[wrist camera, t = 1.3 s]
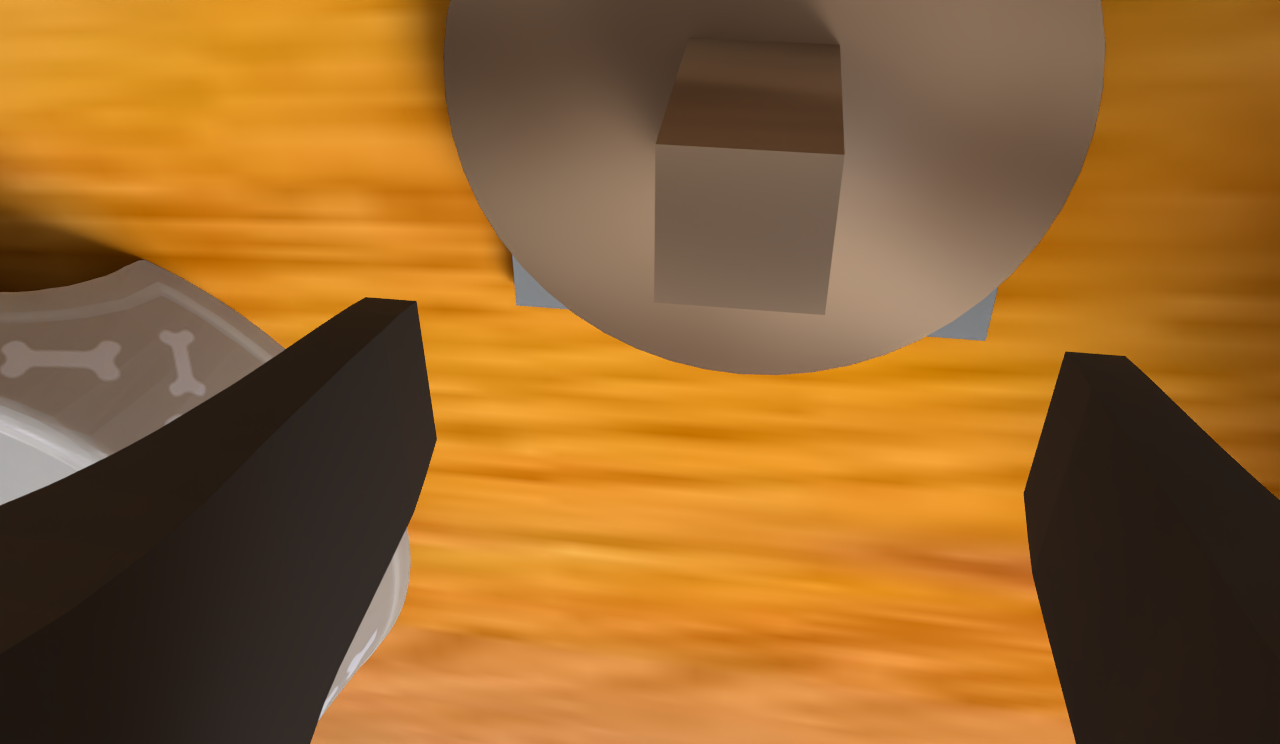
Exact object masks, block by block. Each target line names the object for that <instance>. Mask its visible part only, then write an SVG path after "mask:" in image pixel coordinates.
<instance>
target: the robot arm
mask: <svg viewBox="0 0 1280 744" xmlns="http://www.w3.org/2000/svg"><path fill="white" fill-rule="evenodd" d="M436 440H437V437H436V430H435V424H434V417H433V410H432V403H431V397H430V390H429V383H428V376H427V370H426V363H425V356H424V349H423V342H422V336H421V329H420V322H419V315H418V309H417V302H416V301H407V300H394V299H381V298H368V297H365V298H364V299H362V300H360V301H358V302H357V303H355V304H353V305H352V306H350V307H348V308H347V309H345V310H344V311H342V312H340V313H339V314H337V315H336V316H334V317H333V318H331V319H330V320H328V321H327V322H325V323H324V324H322V325H321V326H319V327H318V328H316V329H315V330H313V331H312V332H310V333H309V334H307V335H306V336H305V337H303V338H302V339H300V340H299V341H297V342H296V343H294V344H293V345H291V346H290V347H288V348H287V349H285V350H284V351H282V352H281V353H279V354H278V355H276V356H275V357H273V358H272V359H270V360H269V361H267V362H266V363H264V364H263V365H261V366H260V367H258V368H257V369H255V370H254V371H252V372H251V373H249V374H248V375H246V376H245V377H243V378H242V379H240V380H239V381H237V382H236V383H234V384H232V385H231V386H229V387H228V388H226V389H224V390H223V391H221V392H219V393H218V394H216V395H214V396H213V397H211V398H209V399H208V400H206V401H204V402H203V403H201V404H199V405H198V406H196V407H195V408H193V409H191V410H190V411H188V412H186V413H185V414H183V415H181V416H180V417H178V418H176V419H175V420H173V421H171V422H170V423H168V424H166V425H165V426H163V427H161V428H160V429H158V430H156V431H155V432H153V433H151V434H149V435H147V436H145V437H144V438H142V439H140V440H138V441H136V442H135V443H133V444H131V445H129V446H127V447H125V448H123V449H121V450H119V451H118V452H116V453H114V454H112V455H110V456H108V457H106V458H104V459H102V460H100V461H98V462H96V463H94V464H92V465H89V466H87V467H85V468H83V469H81V470H79V471H77V472H75V473H73V474H71V475H69V476H67V477H65V478H63V479H61V480H59V481H56V482H54V483H52V484H50V485H48V486H45V487H43V488H41V489H38V490H36V491H33V492H31V493H29V494H26V495H24V496H21V497H19V498H17V499H14V500H12V501H9V502H7V503H5V504H2V505H0V744H310V742H311V739H312V737H313V734H314V731H315V728H316V725H317V723H318V720H319V717H320V714H321V711H322V708H323V706H324V703H325V701H326V698H327V696H328V694H329V691H330V689H331V687H332V684H333V682H334V680H335V677H336V675H337V673H338V670H339V668H340V666H341V664H342V662H343V660H344V658H345V655H346V653H347V651H348V649H349V647H350V645H351V643H352V641H353V639H354V637H355V635H356V633H357V631H358V629H359V626H360V624H361V622H362V620H363V618H364V616H365V614H366V612H367V610H368V608H369V606H370V604H371V602H372V600H373V597H374V595H375V593H376V591H377V589H378V587H379V585H380V583H381V581H382V579H383V577H384V575H385V573H386V571H387V568H388V566H389V564H390V562H391V560H392V558H393V556H394V554H395V552H396V549H397V547H398V545H399V543H400V541H401V539H402V537H403V535H404V532H405V530H406V528H407V526H408V524H409V522H410V519H411V517H412V515H413V513H414V510H415V507H416V504H417V501H418V498H419V495H420V492H421V489H422V486H423V483H424V480H425V477H426V474H427V470H428V467H429V464H430V460H431V457H432V453H433V450H434V447H435V443H436ZM1024 502H1025V512H1026V522H1027V532H1028V542H1029V550H1030V558H1031V566H1032V574H1033V578H1034V582H1035V586H1036V590H1037V595H1038V599H1039V602H1040V606H1041V610H1042V614H1043V618H1044V622H1045V626H1046V630H1047V634H1048V638H1049V642H1050V646H1051V649H1052V653H1053V657H1054V661H1055V665H1056V668H1057V672H1058V676H1059V680H1060V684H1061V688H1062V691H1063V695H1064V699H1065V703H1066V707H1067V710H1068V714H1069V718H1070V722H1071V726H1072V730H1073V733H1074V737H1075V741H1076V744H1280V500H1279V499H1278V498H1276V497H1275V496H1274V495H1273V494H1272V493H1271V492H1270V491H1268V490H1267V489H1266V488H1265V487H1264V486H1263V485H1262V484H1261V483H1259V482H1258V481H1257V480H1256V479H1255V478H1254V477H1253V476H1252V475H1251V474H1249V473H1248V472H1247V471H1246V470H1245V469H1244V468H1243V467H1242V466H1241V465H1240V464H1239V463H1237V462H1236V461H1235V460H1234V459H1233V458H1232V457H1231V456H1230V455H1229V454H1228V453H1227V452H1226V451H1225V450H1223V449H1222V448H1221V447H1220V446H1219V445H1218V444H1217V443H1216V442H1215V441H1214V440H1213V439H1212V438H1211V437H1210V436H1209V435H1208V434H1207V433H1206V432H1205V431H1203V430H1202V429H1201V428H1200V427H1199V426H1198V425H1197V424H1196V423H1195V422H1194V421H1193V420H1192V419H1191V418H1190V417H1189V416H1188V415H1187V414H1186V413H1185V412H1184V411H1183V410H1182V409H1181V408H1180V407H1179V406H1178V405H1177V404H1176V403H1175V402H1174V401H1172V400H1171V399H1170V398H1169V397H1168V396H1167V395H1166V394H1165V393H1164V392H1163V391H1162V390H1161V389H1160V388H1159V387H1158V386H1157V385H1156V384H1155V383H1154V382H1153V381H1152V380H1151V379H1150V378H1149V377H1148V376H1146V375H1145V374H1144V373H1143V372H1142V371H1141V370H1140V369H1139V368H1138V367H1137V366H1136V365H1134V364H1133V363H1132V362H1131V361H1130V360H1129V359H1128V358H1126V357H1125V356H1115V355H1102V354H1089V353H1076V352H1065V355H1064V358H1063V362H1062V365H1061V368H1060V372H1059V375H1058V379H1057V382H1056V385H1055V389H1054V392H1053V396H1052V399H1051V402H1050V406H1049V409H1048V413H1047V416H1046V419H1045V423H1044V426H1043V430H1042V433H1041V436H1040V440H1039V443H1038V447H1037V450H1036V453H1035V457H1034V460H1033V464H1032V467H1031V470H1030V474H1029V477H1028V481H1027V484H1026V487H1025V491H1024Z"/></svg>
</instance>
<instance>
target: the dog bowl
mask: <svg viewBox="0 0 1280 744" xmlns="http://www.w3.org/2000/svg"><path fill="white" fill-rule="evenodd" d="M284 350H285V348H283V347H282V346H281V345H280V344H278V343H277V342H276V341H275V340H274V339H272V338H271V337H270V336H269V335H267V334H266V333H265V332H264V331H262V330H261V329H260V328H258V327H257V326H256V325H254V324H253V323H251V322H250V321H249V320H247V319H246V318H245V317H243V316H242V315H240V314H239V313H238V312H236V311H235V310H233V309H232V308H230V307H229V306H227V305H226V304H224V303H223V302H221V301H219V300H218V299H216V298H215V297H213V296H212V295H210V294H208V293H207V292H205V291H203V290H202V289H200V288H198V287H197V286H195V285H193V284H191V283H190V282H188V281H186V280H184V279H182V278H180V277H179V276H177V275H175V274H173V273H171V272H169V271H167V270H165V269H163V268H161V267H159V266H157V265H155V264H153V263H151V262H149V261H146V260H139V261H136V262H134V263H132V264H130V265H127V266H124V267H123V268H121V269H120V270H118V271H116V272H113V273H111V274H109V275H107V276H103V277H99V278H96V279H92V280H89V281H85V282H81V283H77V284H73V285H70V286H64V287H57V288H50V289H43V290H37V291H26V292H0V505H2V504H5V503H7V502H9V501H12V500H14V499H17V498H19V497H21V496H24V495H26V494H29V493H31V492H33V491H36V490H38V489H41V488H43V487H45V486H48V485H50V484H52V483H54V482H56V481H59V480H61V479H63V478H65V477H67V476H69V475H71V474H73V473H75V472H77V471H79V470H81V469H83V468H85V467H87V466H89V465H92V464H94V463H96V462H98V461H100V460H102V459H104V458H106V457H108V456H110V455H112V454H114V453H116V452H118V451H119V450H121V449H123V448H125V447H127V446H129V445H131V444H133V443H135V442H136V441H138V440H140V439H142V438H144V437H145V436H147V435H149V434H151V433H153V432H155V431H156V430H158V429H160V428H161V427H163V426H165V425H166V424H168V423H170V422H171V421H173V420H175V419H176V418H178V417H180V416H181V415H183V414H185V413H186V412H188V411H190V410H191V409H193V408H195V407H196V406H198V405H199V404H201V403H203V402H204V401H206V400H208V399H209V398H211V397H213V396H214V395H216V394H218V393H219V392H221V391H223V390H224V389H226V388H228V387H229V386H231V385H232V384H234V383H236V382H237V381H239V380H240V379H242V378H243V377H245V376H246V375H248V374H249V373H251V372H252V371H254V370H255V369H257V368H258V367H260V366H261V365H263V364H264V363H266V362H267V361H269V360H270V359H272V358H273V357H275V356H276V355H278V354H279V353H281V352H282V351H284ZM409 576H410V544H409V537H408V531H407V528H406V530H405V532H404V535H403V537H402V539H401V541H400V543H399V545H398V547H397V549H396V552H395V554H394V556H393V558H392V560H391V562H390V564H389V566H388V568H387V571H386V573H385V575H384V577H383V579H382V581H381V583H380V585H379V587H378V589H377V591H376V593H375V595H374V597H373V600H372V602H371V604H370V606H369V608H368V610H367V612H366V614H365V616H364V618H363V620H362V622H361V624H360V626H359V629H358V631H357V633H356V635H355V637H354V639H353V641H352V643H351V645H350V647H349V649H348V651H347V653H346V655H345V658H344V660H343V662H342V664H341V666H340V668H339V670H338V673H337V675H336V677H335V680H334V682H333V684H332V687H331V689H330V691H329V694H328V696H327V698H326V701H325V703H324V706H323V708H322V711H321V714H320V717H319V719H320V718H321V717H322V715H323V714H324V713H325V711H326V710H327V708H328V707H329V706H330V705H331V703H332V702H333V701H334V699H335V698H336V697H337V696H338V694H339V693H340V692H341V691H342V689H343V688H344V687H345V685H346V684H347V683H348V682H349V680H350V679H351V678H352V677H353V675H354V674H355V673H356V671H357V670H358V669H359V668H360V667H361V666H362V665H363V664H364V663H365V662H366V661H367V660H368V659H369V657H370V656H371V655H372V654H373V653H374V652H375V650H376V649H377V648H378V646H379V645H380V644H381V642H382V641H383V640H384V639H385V637H386V636H387V635H388V633H389V632H390V630H391V629H392V627H393V625H394V624H395V622H396V620H397V618H398V616H399V614H400V612H401V609H402V607H403V604H404V602H405V598H406V594H407V589H408V584H409ZM318 721H319V720H318Z"/></svg>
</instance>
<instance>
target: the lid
mask: <svg viewBox="0 0 1280 744" xmlns="http://www.w3.org/2000/svg"><path fill="white" fill-rule="evenodd" d="M443 58H444V78H445V97H446V103H447V108H448V114H449V119H450V125H451V130H452V136H453V139H454V142H455V145H456V148H457V152H458V155H459V158H460V161H461V164H462V167H463V171H464V173H465V175H466V178H467V180H468V182H469V184H470V186H471V188H472V191H473V193H474V195H475V197H476V199H477V202H478V204H479V206H480V208H481V209H482V211H483V212H484V214H485V216H486V217H487V219H488V221H489V222H490V224H491V226H492V227H493V229H494V230H495V232H496V234H497V235H498V237H499V238H500V240H501V241H502V242H503V243H504V245H505V246H506V247H507V248H508V250H509V251H510V252H511V254H512V255H513V256H514V257H515V259H516V260H517V261H518V262H519V264H520V265H521V266H522V267H523V268H524V269H525V270H526V271H527V272H528V273H529V274H530V275H531V276H532V277H533V278H534V279H535V280H536V281H537V282H538V283H539V284H540V285H541V286H542V287H543V288H544V289H545V290H546V291H547V292H548V293H549V294H550V295H552V296H553V297H554V298H555V299H557V300H558V301H559V302H560V303H562V304H563V305H564V306H565V307H567V308H568V309H569V310H570V311H572V312H573V313H574V314H576V315H577V316H579V317H580V318H582V319H584V320H585V321H587V322H588V323H590V324H591V325H593V326H595V327H596V328H598V329H599V330H601V331H603V332H604V333H606V334H608V335H610V336H612V337H614V338H616V339H618V340H620V341H622V342H624V343H626V344H628V345H631V346H633V347H635V348H637V349H639V350H642V351H645V352H648V353H650V354H653V355H656V356H659V357H662V358H664V359H667V360H670V361H674V362H678V363H682V364H686V365H690V366H694V367H698V368H702V369H708V370H715V371H722V372H730V373H737V374H760V375H783V374H796V373H808V372H816V371H822V370H827V369H833V368H838V367H843V366H849V365H852V364H856V363H859V362H862V361H866V360H869V359H872V358H876V357H879V356H882V355H885V354H888V353H890V352H892V351H895V350H897V349H900V348H902V347H904V346H907V345H909V344H911V343H914V342H916V341H919V340H920V339H922V338H924V337H926V336H928V335H929V334H931V333H933V332H935V331H937V330H938V329H940V328H942V327H944V326H946V325H947V324H949V323H951V322H953V321H954V320H955V319H957V318H958V317H960V316H961V315H962V314H964V313H965V312H967V311H968V310H969V309H971V308H972V307H974V306H975V305H976V304H978V303H979V302H981V301H982V300H983V299H985V298H986V297H987V296H988V295H989V294H990V293H991V292H992V291H993V290H994V289H996V288H997V287H998V286H999V285H1000V284H1001V283H1002V282H1003V281H1004V280H1005V279H1007V278H1008V277H1009V276H1010V275H1011V274H1012V273H1013V272H1014V271H1015V270H1016V269H1017V267H1018V266H1019V265H1020V264H1021V263H1022V262H1023V261H1024V259H1025V258H1026V257H1027V256H1028V255H1029V254H1030V252H1031V251H1032V250H1033V249H1034V248H1035V247H1036V246H1037V244H1038V243H1039V242H1040V241H1041V239H1042V238H1043V236H1044V235H1045V233H1046V232H1047V230H1048V229H1049V227H1050V226H1051V224H1052V223H1053V221H1054V220H1055V218H1056V217H1057V215H1058V214H1059V212H1060V211H1061V209H1062V208H1063V206H1064V204H1065V202H1066V200H1067V198H1068V196H1069V194H1070V192H1071V190H1072V188H1073V186H1074V184H1075V182H1076V180H1077V177H1078V175H1079V173H1080V171H1081V169H1082V166H1083V163H1084V160H1085V157H1086V154H1087V151H1088V148H1089V145H1090V143H1091V140H1092V137H1093V134H1094V131H1095V126H1096V121H1097V116H1098V111H1099V106H1100V101H1101V96H1102V90H1103V77H1104V59H1105V36H1104V25H1103V14H1102V3H1101V0H450V4H449V8H448V13H447V20H446V32H445V44H444V56H443Z"/></svg>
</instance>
